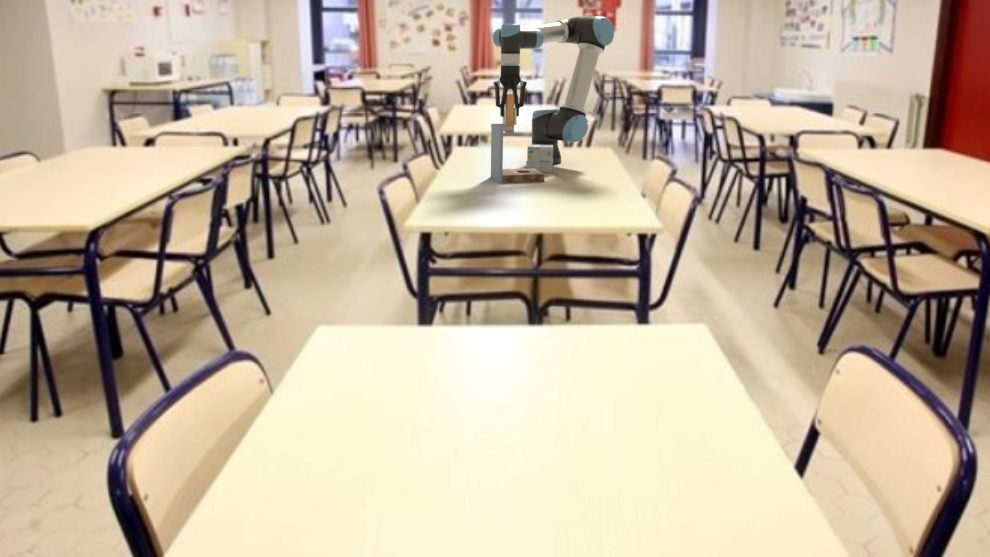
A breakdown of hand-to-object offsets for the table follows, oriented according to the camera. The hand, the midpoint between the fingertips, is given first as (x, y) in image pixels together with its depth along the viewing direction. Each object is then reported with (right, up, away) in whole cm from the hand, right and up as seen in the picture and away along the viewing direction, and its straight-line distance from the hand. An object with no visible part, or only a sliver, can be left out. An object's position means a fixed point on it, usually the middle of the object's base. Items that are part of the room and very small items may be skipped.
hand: (509, 124), depth 334 cm
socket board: (+4, -23, -5) cm, 23 cm away
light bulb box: (+13, -17, +14) cm, 26 cm away
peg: (0, -3, +1) cm, 3 cm away
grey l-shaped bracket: (-3, -23, -7) cm, 24 cm away
